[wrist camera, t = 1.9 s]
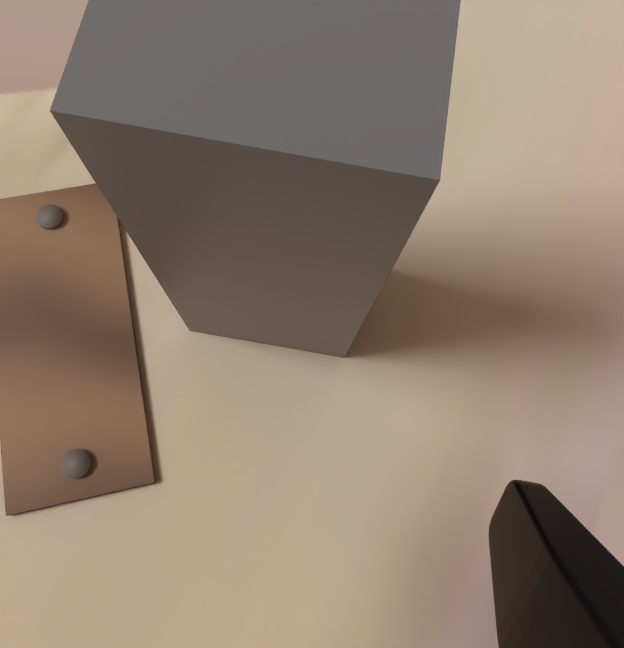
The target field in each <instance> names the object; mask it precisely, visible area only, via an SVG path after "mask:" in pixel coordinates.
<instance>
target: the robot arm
mask: <svg viewBox="0 0 624 648" xmlns="http://www.w3.org/2000/svg"><path fill="white" fill-rule="evenodd" d="M489 546H490V557H491V569H492V581H493V592H494V604H495V615H496V627H497V637H498V646H499V648H624V566H623V565H622V564H621V563H620V562H619V561H618V560H617V559H616V558H615V557H614V556H613V555H612V554H611V553H610V552H609V551H608V550H607V549H606V548H605V547H604V546H603V545H602V544H601V543H600V542H599V541H598V540H597V539H596V538H595V537H594V536H593V535H592V534H591V533H590V532H589V531H588V530H587V529H586V528H585V527H584V526H583V525H582V524H581V523H580V522H579V521H578V520H577V519H576V518H575V517H574V516H573V514H572V513H571V512H570V511H569V510H568V509H567V508H566V507H565V506H564V505H563V504H562V503H561V502H560V501H559V500H558V499H557V498H556V497H555V496H554V495H553V494H552V493H551V492H550V491H549V490H548V489H547V488H546V487H544V486H543V485H541V484H538V483H533V482H527V481H522V480H512V481H511V482H509V483H508V485H507V486H506V488H505V490H504V493H503V495H502V497H501V499H500V501H499V503H498V505H497V508H496V510H495V512H494V514H493V516H492V519H491V522H490V526H489Z"/></svg>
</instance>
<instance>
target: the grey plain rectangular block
mask: <svg viewBox="0 0 624 648" xmlns="http://www.w3.org/2000/svg"><path fill="white" fill-rule="evenodd" d="M460 1H461V0H89V2H88V4H87V7H86V10H85V13H84V15H83V18H82V21H81V24H80V27H79V30H78V33H77V35H76V38H75V41H74V44H73V47H72V49H71V52H70V55H69V58H68V61H67V64H66V66H65V69H64V72H63V75H62V78H61V81H60V83H59V86H58V89H57V92H56V95H55V98H54V100H53V103H52V106H51V109H50V111H51V113H52V115H53V116H54V118H55V119H56V121H57V123H58V124H59V126H60V127H61V129H62V130H63V132H64V134H65V135H66V137H67V138H68V140H69V141H70V143H71V145H72V146H73V148H74V149H75V151H76V152H77V154H78V156H79V157H80V159H81V160H82V162H83V163H84V165H85V167H86V168H87V170H88V171H89V173H90V174H91V176H92V178H93V179H94V181H95V182H96V184H97V186H98V187H99V189H100V190H101V192H102V193H103V195H104V197H105V198H106V200H107V201H108V203H109V204H110V206H111V208H112V209H113V211H114V212H115V214H116V215H117V217H118V219H119V220H120V222H121V223H122V225H123V226H124V228H125V230H126V231H127V233H128V234H129V236H130V237H131V239H132V241H133V242H134V244H135V245H136V247H137V249H138V250H139V252H140V253H141V255H142V256H143V258H144V260H145V261H146V263H147V264H148V266H149V267H150V269H151V271H152V272H153V274H154V275H155V277H156V278H157V280H158V282H159V283H160V285H161V286H162V288H163V289H164V291H165V293H166V294H167V296H168V297H169V299H170V300H171V302H172V304H173V305H174V307H175V308H176V310H177V311H178V313H179V315H180V316H181V318H182V319H183V321H184V323H185V324H186V326H187V327H188V329H189V330H190V331H195V332H201V333H207V334H212V335H218V336H224V337H230V338H235V339H241V340H247V341H252V342H258V343H264V344H269V345H275V346H281V347H286V348H292V349H298V350H303V351H309V352H315V353H321V354H326V355H332V356H338V357H343V358H344V357H345V355H346V353H347V352H348V350H349V348H350V346H351V344H352V342H353V340H354V339H355V337H356V335H357V333H358V331H359V329H360V327H361V326H362V324H363V322H364V320H365V318H366V316H367V314H368V313H369V311H370V309H371V307H372V305H373V303H374V301H375V300H376V298H377V296H378V294H379V292H380V290H381V289H382V287H383V285H384V283H385V281H386V279H387V277H388V276H389V274H390V272H391V270H392V268H393V266H394V264H395V263H396V261H397V259H398V257H399V255H400V253H401V251H402V250H403V248H404V246H405V244H406V242H407V240H408V238H409V237H410V235H411V233H412V231H413V229H414V227H415V225H416V224H417V222H418V220H419V218H420V216H421V214H422V212H423V211H424V209H425V207H426V205H427V203H428V201H429V199H430V198H431V196H432V194H433V192H434V190H435V188H436V186H437V185H438V183H439V181H440V175H441V166H442V157H443V149H444V140H445V131H446V122H447V114H448V105H449V96H450V88H451V79H452V70H453V62H454V53H455V44H456V35H457V27H458V18H459V9H460Z"/></svg>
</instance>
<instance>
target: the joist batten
mask: <svg viewBox="0 0 624 648" xmlns="http://www.w3.org/2000/svg"><path fill="white" fill-rule="evenodd" d="M0 441H1V455H2V469H3V483H4V497H5V511H6V516H8V515H12V514H17V513H21V512H26V511H30V510H35V509H39V508H44V507H48V506H53V505H57V504H61V503H66V502H70V501H75V500H79V499H84V498H88V497H93V496H97V495H102V494H106V493H110V492H115V491H119V490H124V489H128V488H133V487H137V486H142V485H146V484H150V483H155V475H154V468H153V461H152V454H151V447H150V439H149V432H148V425H147V418H146V411H145V404H144V397H143V390H142V383H141V376H140V369H139V362H138V355H137V347H136V340H135V333H134V326H133V319H132V312H131V305H130V298H129V291H128V284H127V277H126V270H125V263H124V255H123V248H122V241H121V234H120V227H119V220H118V217H117V215H116V214H115V212H114V211H113V209H112V208H111V206H110V204H109V203H108V201H107V200H106V198H105V197H104V195H103V193H102V192H101V190H100V189H99V187H98V186H97V184H90V185H84V186H78V187H72V188H66V189H60V190H53V191H47V192H41V193H35V194H29V195H23V196H17V197H10V198H4V199H0Z"/></svg>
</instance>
